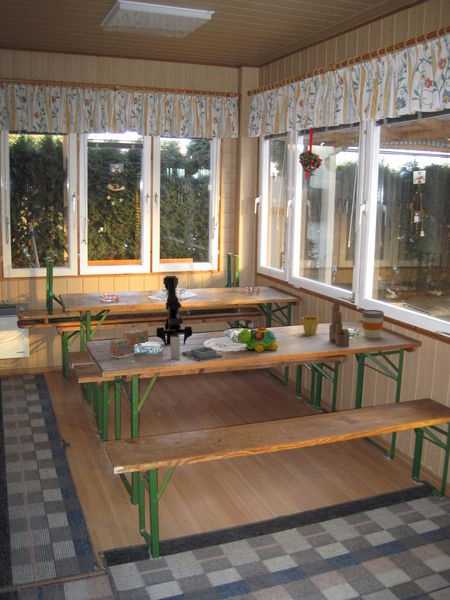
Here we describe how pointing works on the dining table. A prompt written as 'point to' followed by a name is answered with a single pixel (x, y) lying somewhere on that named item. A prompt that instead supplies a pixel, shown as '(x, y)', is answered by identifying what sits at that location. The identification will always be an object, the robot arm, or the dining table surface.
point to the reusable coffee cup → (372, 323)
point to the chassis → (202, 353)
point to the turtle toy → (258, 339)
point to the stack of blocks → (128, 342)
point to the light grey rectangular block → (175, 347)
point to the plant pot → (310, 324)
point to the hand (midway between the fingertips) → (175, 345)
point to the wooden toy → (338, 327)
